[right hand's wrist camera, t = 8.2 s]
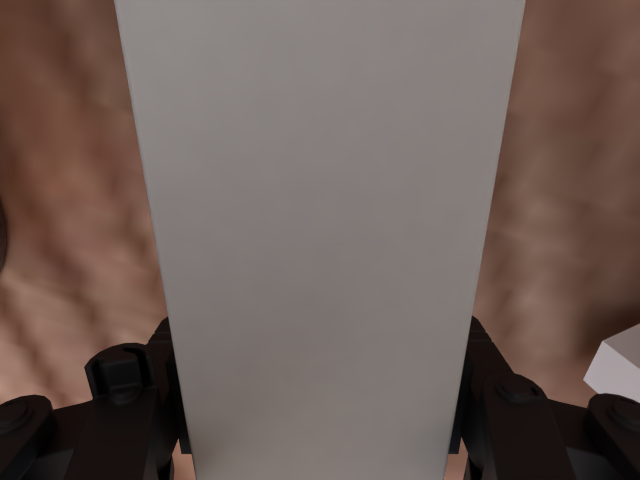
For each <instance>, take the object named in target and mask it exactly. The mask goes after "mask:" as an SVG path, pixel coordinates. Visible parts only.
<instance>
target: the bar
mask: <svg viewBox="0 0 640 480" xmlns="http://www.w3.org/2000/svg"><path fill="white" fill-rule="evenodd" d="M525 2H526V0H114V3H115V8H116V14H117V20H118V26H119V32H120V38H121V44H122V49H123V55H124V61H125V67H126V73H127V79H128V84H129V90H130V96H131V102H132V108H133V114H134V120H135V125H136V131H137V137H138V143H139V149H140V155H141V160H142V166H143V172H144V178H145V184H146V190H147V196H148V201H149V207H150V213H151V219H152V225H153V231H154V236H155V242H156V248H157V254H158V260H159V266H160V272H161V277H162V283H163V289H164V295H165V301H166V307H167V312H168V318H169V324H170V330H171V336H172V342H173V348H174V353H175V359H176V365H177V371H178V377H179V383H180V389H181V394H182V400H183V406H184V412H185V418H186V424H187V429H188V435H189V441H190V447H191V453H192V459H193V465H194V470H195V476H196V480H444V475H445V470H446V464H447V458H448V452H449V446H450V440H451V435H452V429H453V423H454V417H455V411H456V405H457V399H458V394H459V388H460V382H461V376H462V370H463V364H464V359H465V353H466V347H467V341H468V335H469V329H470V323H471V318H472V312H473V306H474V300H475V294H476V288H477V283H478V277H479V271H480V265H481V259H482V253H483V247H484V242H485V236H486V230H487V224H488V218H489V212H490V207H491V201H492V195H493V189H494V183H495V177H496V171H497V166H498V160H499V154H500V148H501V142H502V136H503V131H504V125H505V119H506V113H507V107H508V101H509V95H510V90H511V84H512V78H513V72H514V66H515V60H516V55H517V49H518V43H519V37H520V31H521V25H522V20H523V14H524V8H525Z"/></svg>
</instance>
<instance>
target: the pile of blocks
mask: <svg viewBox="0 0 640 480" xmlns="http://www.w3.org/2000/svg"><path fill="white" fill-rule="evenodd" d="M583 380H584V381H585V382H586V383H587V384H588V385H590V386H591V387H592V388H593V389H594V390H595V391H596V392H597V393H599V394H603V393H610V394H616V395H621V396H624V397H627V398H630V399H633V400H635V401H637V402H639V403H640V324H638V325H636V326H634V327H631V328H629V329H627V330H625V331H623V332H620V333H618V334H616V335H614V336H612V337H610V338H607V339H605V340H603V341H602V343H601V345H600V347H599V349H598V351H597V353H596V355H595V357H594V359H593V361H592V363H591V365H590V367H589V369H588V371H587V373H586V375H585V377H584V379H583Z"/></svg>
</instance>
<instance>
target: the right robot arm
mask: <svg viewBox="0 0 640 480" xmlns="http://www.w3.org/2000/svg"><path fill="white" fill-rule="evenodd" d="M5 253H6V227H5V221H4V217H3V212H2V209H1V206H0V270H1V267H2V265H3V262H4V257H5ZM84 368H85V372H86V375H87V379H88V382H89V386H90V389H91V393H92V396H93V399H92V400H91V401H88V402H84V403H81V404H76V405H72V406H68V407H63V408H59V409H55V410H53V407H52V404H51V401H50V400H49V399H47V398H46V397H45V396H40V395H28V396H21V397H18V398H15V399H12V400H10V401H7V402H5V403H3V404H1V405H0V480H174V464H173V458H172V453H173V450H174V448H175V445H176V443H177V440H178V438H179V443H180V448H181V454H192V453H191V447H190V441H189V435H188V429H187V424H186V418H185V412H184V406H183V400H182V394H181V389H180V383H179V377H178V371H177V365H176V359H175V353H174V348H173V342H172V336H171V330H170V324H169V318H168V317H167V318H165V319H164V320H162V322H161V323H160V325H159V326H158V328H157V329H156V331H155V334H153V335H152V337H151V338H150V340H149V341H148V343H147V344H146V345H144V344H140V343H123V344H119V345H115V346H112V347H110V348H107V349H105V350H103V351H101V352H99V353H98V354H96V355H95V356H94V357H92V358H91V359H90V360H89V361H88V363H87V364H86V366H85V367H84ZM461 437H462V439H463V442H464V444H465V447H466V449H467V452H468V458H467V463H466V468H465V473H464V478H463V480H640V403H639V402H637V401H635V400H633V399H630V398H627V397H624V396H621V395H616V394H610V393H603V394H596V395H595V396H593V397H592V398H591V399H590V400H589V403H588V406H587V408H584V407H579V406H575V405H570V404H566V403H562V402H558V401H554V400H551V399H548V398H547V396H546V395H545V393H544V392H543V390H542V389H541V388H540V387H539V386H538V385H536V384H535V383H534V382H533V381H531V380H529V379H527V378H525V377H523V376H522V375H518V374H515V373H514V372H513V371H512V370H511V368H510V367H509V365H508V364H507V362H506V361H505V359H504V358H503V356H502V355H501V353H500V352H499V350H498V349H497V347H496V346H495V344H494V343H493V342H492V341H491V338H490V337H489V335H488V334H487V333H485V329H484V328H483V326H482V325H481V323H480V322H479V320H478V319H476V318H475V317H474V316H472V318H471V323H470V329H469V335H468V341H467V347H466V353H465V359H464V364H463V370H462V376H461V382H460V388H459V394H458V399H457V405H456V411H455V417H454V423H453V429H452V435H451V440H450V446H449V452H448V454H458V452H459V447H460V441H461Z"/></svg>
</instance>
